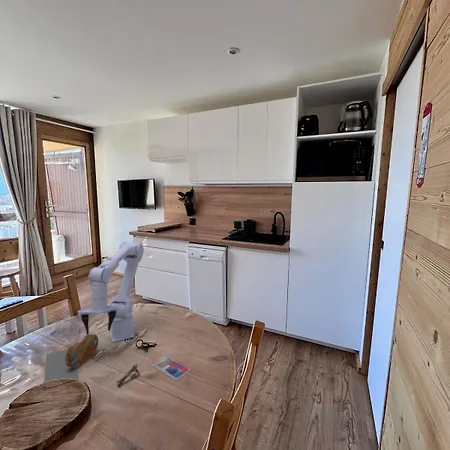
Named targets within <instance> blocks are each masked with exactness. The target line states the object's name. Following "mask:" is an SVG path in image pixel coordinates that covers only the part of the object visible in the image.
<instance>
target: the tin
mask: <svg viewBox="0 0 450 450" xmlns="http://www.w3.org/2000/svg"><path fill="white" fill-rule="evenodd" d="M98 346H99V337H98V335H97V334H94V333H89V334H86V335H84V336H83V337H81V338H80V339H79V340H78V341H76V342H73V344H72V345H71V346H69V348H67V349H68V351H67V353H66V359H65V361H66V365H67V366H68V367H73V368H77V369H78V367H80V366H81V365H83V364H84V363H85V362H86V361H87V360H88V359H90V357H92V356H93V355H94V354H95V353H96V351H97V349H98Z"/></svg>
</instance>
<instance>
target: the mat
mask: <svg viewBox="0 0 450 450" xmlns="http://www.w3.org/2000/svg"><path fill="white" fill-rule="evenodd" d="M68 349H69V348H67V349H63V350H59V351H55V352H51V353H47V354H46V357H45V358H46V359H45V371H44V380H43V381H44V382H46V381H50V380H54V379H61V378H72V379H78V380H79V375H78V374H79V373H78V367H77V368H73V367H68V366H67V365H66V361H65V359H66V353H67V351H68ZM44 382H43V383H44Z"/></svg>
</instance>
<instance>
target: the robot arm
mask: <svg viewBox="0 0 450 450" xmlns="http://www.w3.org/2000/svg"><path fill="white" fill-rule="evenodd" d="M144 252H145V249H144V245H143V243H141V242H127V241H123V242H121V244H119V248H118V250H117V251H116V252H115V253H114V255H113V256H108V257H106V259H105V260H104V261H103V262H102V263H101V264H100V265H98V266H97V267H93V268H92V269H90V270H89V273H88V275H87V278H88V281H89V285H90V287H91V292H90V293H91V297H90V299H91V300H90V301H91V303H90V304H91V305H90V308H84V309H80V310H79V309H78V311H77V317H78V318H80V319H81V321H82V324H83V325H84V328H85V331H86V332H85V333H86V335H88V334H90V333H89V332H90V330H89V327H90V326H89V316H91V315H100V314H106V315H107V317H108V322H107V330H108V332H109V331H111V332H110V333H109V335H110V339H111V342H112V343H116V342H119V341H120V342H121V341H122V340H123V341H124V340H128V339H132V338H135V336H136V335H135V320H134V316H133V314H132V313H133V309H134V308H133V307H134V302H133V300H132V299H131V298H130V295H131V292H132V288H133V284H134V280H135V277H136V273H137V270H138V266H139V263H140V262H142V259H143V255H144ZM122 260H123V261H125V262H126V265H125V270H124V271H123V272H124V273H123V275H122V280H121V284H120V286H119V290H118V293H117V295H116V296H114V297H112V298H111V300H110V303H109V304H108V288H109V286H108V285H109V284H108V282H110V280H111V278H112V275H113V273H114V272H115V271H116V269H118V268H119V266H120V262H121V261H122Z"/></svg>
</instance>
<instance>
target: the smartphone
mask: <svg viewBox="0 0 450 450" xmlns="http://www.w3.org/2000/svg"><path fill="white" fill-rule="evenodd" d="M150 366H152V367H153V368H155V369H157V370H158V371H160V372H161V373H163V374H165V375H166V376H167V377H169V378H172V380H174V381H178V380H180V379H182V378H183V377H184V376H185V374H186V373H187V374H189V372H190V371H191V370H190V369H191V368H189V367H187V366H186V365H183V364H182V363H181V362H178V361H177V360H175V359H173V358H171V357H169V356H168V355H165V354H163V355H161V356H160V357H158V358H156V359H154V360H152V361H151V362H150ZM187 374H186V375H187Z"/></svg>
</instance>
